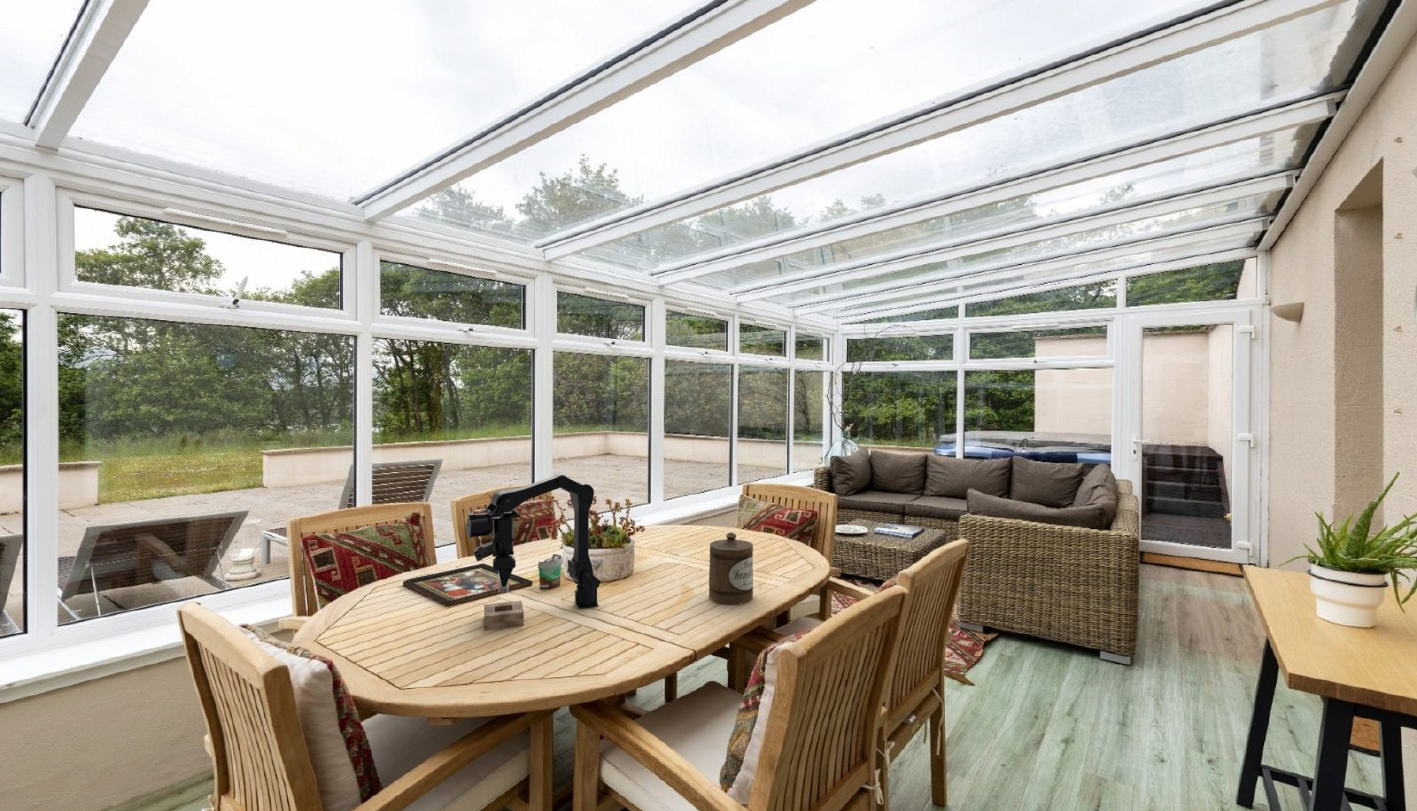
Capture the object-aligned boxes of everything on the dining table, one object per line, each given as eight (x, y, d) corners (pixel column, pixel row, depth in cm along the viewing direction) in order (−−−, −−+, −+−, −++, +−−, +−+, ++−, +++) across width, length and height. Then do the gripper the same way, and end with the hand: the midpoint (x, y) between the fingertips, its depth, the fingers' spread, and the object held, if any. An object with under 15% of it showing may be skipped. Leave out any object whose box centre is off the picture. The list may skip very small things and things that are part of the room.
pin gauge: (508, 589, 190) (508, 563, 190) (509, 592, 187) (508, 566, 187) (498, 590, 189) (498, 564, 189) (498, 593, 186) (498, 567, 186)
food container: (554, 591, 217) (554, 563, 217) (537, 590, 218) (537, 562, 218) (569, 581, 229) (569, 554, 229) (553, 580, 230) (553, 553, 230)
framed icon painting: (391, 589, 221) (391, 581, 221) (478, 567, 250) (478, 560, 250) (454, 612, 199) (454, 603, 199) (541, 585, 228) (541, 577, 228)
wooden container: (740, 607, 201) (740, 539, 201) (701, 600, 209) (701, 534, 208) (760, 595, 214) (760, 530, 214) (722, 588, 221) (722, 526, 221)
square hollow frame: (521, 613, 196) (521, 600, 195) (523, 625, 185) (523, 612, 185) (484, 617, 192) (484, 604, 192) (484, 630, 181) (484, 616, 181)
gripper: (475, 529, 194) (475, 579, 194) (474, 542, 177) (474, 597, 177) (512, 526, 198) (513, 575, 198) (515, 539, 180) (515, 593, 181)
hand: (503, 585), depth 188 cm, fingers closed on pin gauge, 3 cm apart
